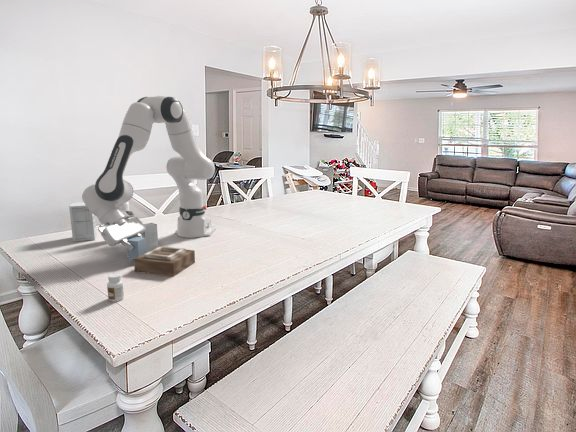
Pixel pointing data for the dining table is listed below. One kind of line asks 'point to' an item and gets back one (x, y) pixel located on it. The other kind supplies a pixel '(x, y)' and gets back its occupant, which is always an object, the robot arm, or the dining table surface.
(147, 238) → the skincare box
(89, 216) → the supplement box
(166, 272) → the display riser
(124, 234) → the robot arm
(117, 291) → the pill bottle
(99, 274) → the dining table surface
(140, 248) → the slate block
